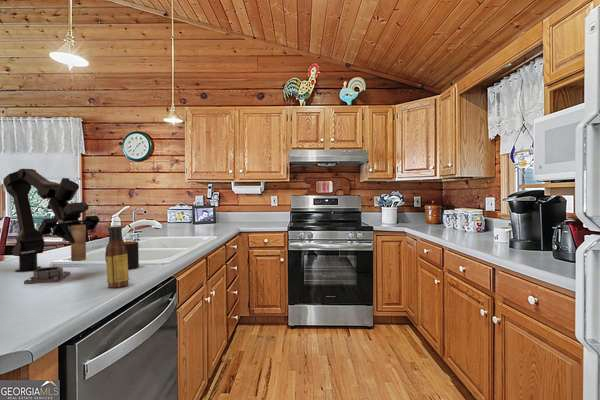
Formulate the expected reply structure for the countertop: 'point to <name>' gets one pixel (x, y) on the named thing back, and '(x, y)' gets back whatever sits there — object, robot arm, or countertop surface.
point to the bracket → (47, 275)
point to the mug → (132, 254)
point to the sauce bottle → (116, 259)
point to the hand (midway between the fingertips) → (80, 241)
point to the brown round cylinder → (78, 243)
